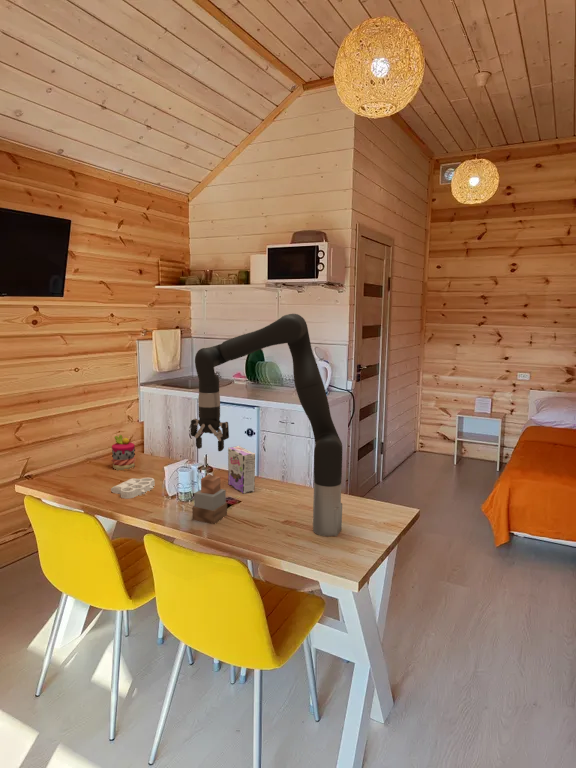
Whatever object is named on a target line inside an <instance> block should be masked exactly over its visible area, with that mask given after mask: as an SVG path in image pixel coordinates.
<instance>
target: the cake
mask: <svg viewBox="0 0 576 768" xmlns="http://www.w3.org/2000/svg"><path fill="white" fill-rule="evenodd" d="M114 440H115V443H113V444H112V445H111V450H112V451H111V452H112V455H111V457H112V459H111V460H110V461H111V462H112V469H113V468H114V469H116V470H115V471H119V470H123V471H125V470H124V469H130V468H132V467H134V466H135V463H136V460H137V458H136V456H135V455H136V453H135V452H136V448H135V447H136V446H135V443H133V442H130V439H129V438H127V437H124V438H123V435H122V434H120V435H115V436H114ZM135 467H136V466H135ZM135 467H134V468H135ZM114 469H113V470H114ZM130 470H131V469H130Z"/></svg>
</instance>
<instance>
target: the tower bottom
mask: <svg viewBox="0 0 576 768" xmlns="http://www.w3.org/2000/svg"><path fill="white" fill-rule="evenodd" d="M191 510H192V515H191V516H192V521H196V522H201V523H206V524H211V525H215V523H216V524H217V523H218V522H219V520H220V521H221V520H222V519H224V518H225V517H227V516H228V502H226V503H225V504H224V505H222V506H220V507H219V508H217V509H215V510H214V511H212V510H207V509H203V508H198V507H194V506H192V509H191ZM226 515H227V516H226ZM223 517H224V518H223Z"/></svg>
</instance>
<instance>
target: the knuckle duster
mask: <svg viewBox="0 0 576 768" xmlns="http://www.w3.org/2000/svg"><path fill="white" fill-rule="evenodd" d="M155 481H156V480H155V478H153V477H142V478H129V479H127V480H125V481H123V482H121V483H119V484H117V485H113V487H111V488H110V491H111V492H112V493H113V494H117V495H120V498H121V499H133V498H135V497H137V496H138V495H139V496H143V495H145V494H146V493H148V492H147V491H149V492H151V491H152V490H153V489H154V488H155V487H156V486H155V484H156V483H155ZM153 486H155V487H153ZM150 490H151V491H150ZM145 492H146V493H145ZM142 494H143V495H142Z"/></svg>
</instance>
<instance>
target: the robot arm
mask: <svg viewBox="0 0 576 768" xmlns="http://www.w3.org/2000/svg"><path fill="white" fill-rule="evenodd" d="M310 338H311V337H310V334H309V329H308V324H307V322H306V319H305V318H304V317H303V316H301V315H300V314H298V313H289V314H285V315H282V316H281V317H280V318H278V319H276V320H275V321H273V322H272V323H269V325H266V326H264V327H262V328H260V329H257V330H254V331H251V332H248V333H243V334H240V335H238V336H235V337H232V338H229V339H227V340H225V341H223V342H222V343H220V344H216V345H214V346H209V347H204V348H199V350H197V351H196V353H195V356H194V365H195V369H196V375H197V378H198V397H197V398H198V402H197V403H198V409H197V410H198V418H194V419H191V420H190V436H191V437H194V438H195V446H196V449H199V450H200V449H202V448H203V437H202V436H203V434H204V433H205V434H209V435H212V434H213V436H214V437H216V438H217V440H218V441H217V451H218V452H222V451H223V450H224V449H225V441H226V440H228V439H229V438H230V432H229V431H230V429H229V422H228V421H225V422H224V421H223V422H221V420H220V418H221V395H220V379H219V377H218V375H217V374H215V367H218V366H220V365H223V364H225V363H228V362H230V361H234V360H237V359H240V358H243V357H245V356H249V355H250V354H253V353H255V352H257V351H260V350H262V349H265V348H269V347H272V346H277V345H283V344H287V346H288V349H289V351H290V354H291V359H292V372H293V382H294V387H295V391H296V393H297V397H298V400H299V402H300V405H301V407H302V410H303V411H304V413H305V415H306V417H307V418H308V420H309V424H310V425H311V429H312V434H313V438H314V439H313V440H314V443H315V446H314V449H313V450H314V451H313V506H312V507H313V511H312V531H313V533H315V534H316V535H318V536H323V537H337V536H338V535H339V534H340V533H341V531H342V528H343V527H342V526H343V525H342V524H343V503H342V501H341V500H342V477H343V475H342V474H343V443H342V440H341V438H340V436H339V434H338V432H337V431H338V430H337V429H336V427H335V423H334V421H333V419H332V416H331V415H332V414H331V411H330V405H329V400H328V396H327V392H326V388H325V385H324V381H323V378H322V376H321V373H320V370H319V366H318V364H317V361H316V357H315V355H314V352H313V349H312V343H311V340H310ZM198 425H199V429H198Z"/></svg>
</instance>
